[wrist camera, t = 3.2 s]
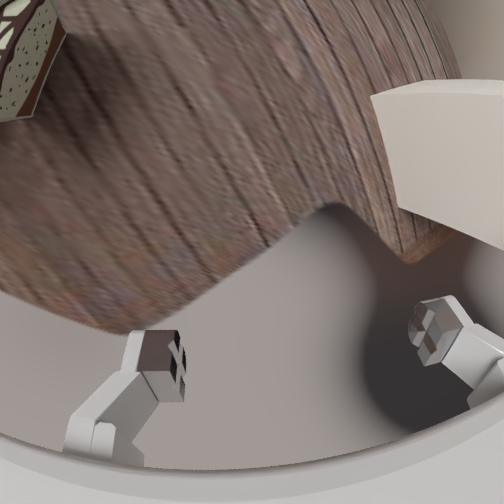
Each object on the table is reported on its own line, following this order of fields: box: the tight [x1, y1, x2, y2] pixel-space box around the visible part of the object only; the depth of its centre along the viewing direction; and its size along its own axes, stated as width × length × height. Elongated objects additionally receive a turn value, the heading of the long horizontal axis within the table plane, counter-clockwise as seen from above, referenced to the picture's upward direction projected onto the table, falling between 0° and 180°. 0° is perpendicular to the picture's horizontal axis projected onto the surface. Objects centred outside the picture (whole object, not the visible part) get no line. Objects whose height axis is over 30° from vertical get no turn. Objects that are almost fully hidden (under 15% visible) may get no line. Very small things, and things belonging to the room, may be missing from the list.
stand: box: [370, 79, 504, 251], centre depth 24 cm, size 12×16×28 cm
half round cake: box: [0, 0, 68, 122], centre depth 14 cm, size 12×6×10 cm, turn 158°
